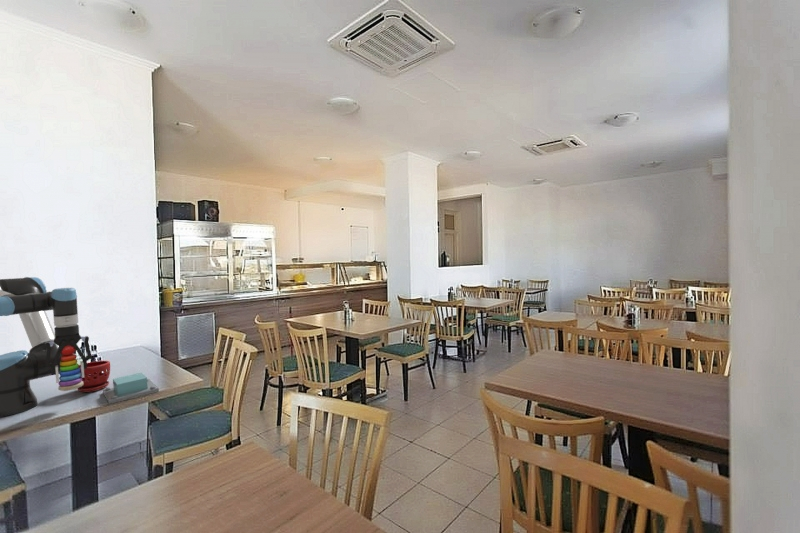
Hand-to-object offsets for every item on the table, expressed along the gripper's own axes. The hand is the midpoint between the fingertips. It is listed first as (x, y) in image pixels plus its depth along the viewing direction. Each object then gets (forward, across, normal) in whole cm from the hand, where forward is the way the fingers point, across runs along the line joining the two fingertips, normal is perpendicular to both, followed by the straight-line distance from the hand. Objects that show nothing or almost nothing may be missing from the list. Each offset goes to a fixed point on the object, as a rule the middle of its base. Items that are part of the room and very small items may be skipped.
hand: (70, 379), depth 156 cm
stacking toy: (+4, 0, 0) cm, 4 cm away
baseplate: (+11, +20, -1) cm, 23 cm away
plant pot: (+12, +9, +19) cm, 25 cm away
